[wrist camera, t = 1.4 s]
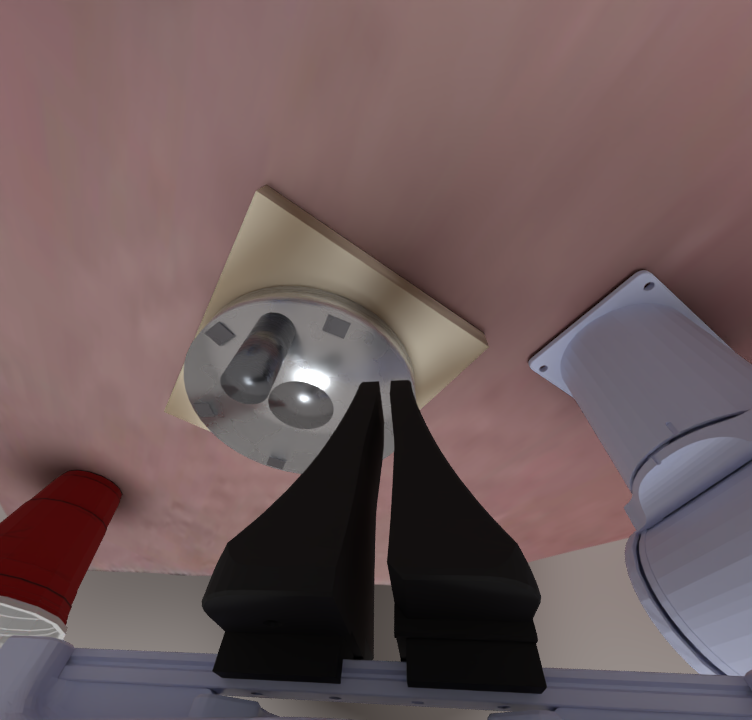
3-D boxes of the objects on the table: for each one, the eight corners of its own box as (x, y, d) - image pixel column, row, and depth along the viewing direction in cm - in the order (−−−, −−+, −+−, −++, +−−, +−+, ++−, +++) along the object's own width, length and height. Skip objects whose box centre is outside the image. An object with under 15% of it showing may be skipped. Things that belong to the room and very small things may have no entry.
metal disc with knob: (418, 450, 26) (423, 537, 21) (242, 454, 27) (205, 536, 22) (410, 276, 18) (414, 347, 12) (159, 295, 19) (68, 365, 14)
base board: (483, 333, 21) (489, 348, 20) (339, 470, 31) (336, 487, 29) (265, 184, 17) (254, 190, 16) (174, 397, 26) (162, 413, 25)
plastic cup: (172, 506, 36) (89, 651, 26) (99, 521, 39) (1, 657, 29) (87, 441, 30) (-59, 598, 21) (9, 465, 33) (-151, 611, 23)
